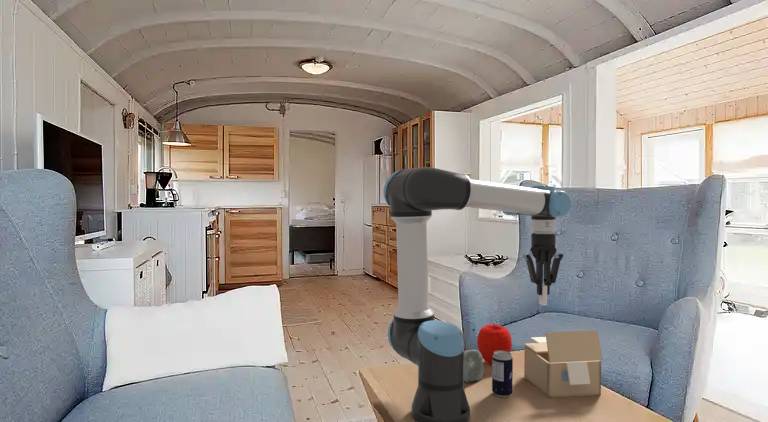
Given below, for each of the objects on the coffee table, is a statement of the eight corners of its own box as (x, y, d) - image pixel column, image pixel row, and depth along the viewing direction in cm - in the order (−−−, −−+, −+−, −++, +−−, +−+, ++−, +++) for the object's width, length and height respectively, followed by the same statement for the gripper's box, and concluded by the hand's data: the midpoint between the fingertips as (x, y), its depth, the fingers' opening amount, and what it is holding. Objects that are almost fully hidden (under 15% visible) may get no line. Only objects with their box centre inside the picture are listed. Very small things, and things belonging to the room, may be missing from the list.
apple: (518, 368, 161) (519, 328, 160) (486, 371, 158) (486, 330, 158) (502, 357, 172) (502, 319, 172) (471, 359, 170) (471, 321, 169)
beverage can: (512, 399, 136) (513, 356, 136) (492, 397, 137) (492, 355, 137) (511, 391, 142) (512, 350, 141) (491, 389, 143) (492, 349, 142)
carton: (548, 398, 137) (548, 363, 137) (524, 377, 153) (524, 346, 153) (600, 395, 139) (601, 361, 139) (571, 374, 155) (572, 344, 155)
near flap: (552, 385, 134) (553, 385, 134) (545, 332, 139) (545, 332, 138) (605, 382, 137) (606, 382, 136) (596, 330, 141) (597, 330, 141)
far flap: (536, 353, 145) (536, 351, 145) (516, 339, 159) (516, 337, 159) (585, 351, 147) (585, 349, 147) (561, 337, 161) (561, 336, 161)
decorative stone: (490, 385, 146) (492, 353, 152) (458, 374, 144) (462, 342, 150) (469, 392, 157) (471, 362, 162) (439, 382, 154) (443, 352, 160)
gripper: (529, 233, 153) (529, 308, 153) (568, 233, 154) (567, 306, 155) (519, 232, 160) (519, 303, 161) (556, 231, 162) (556, 301, 163)
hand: (543, 304), depth 158 cm, fingers closed
